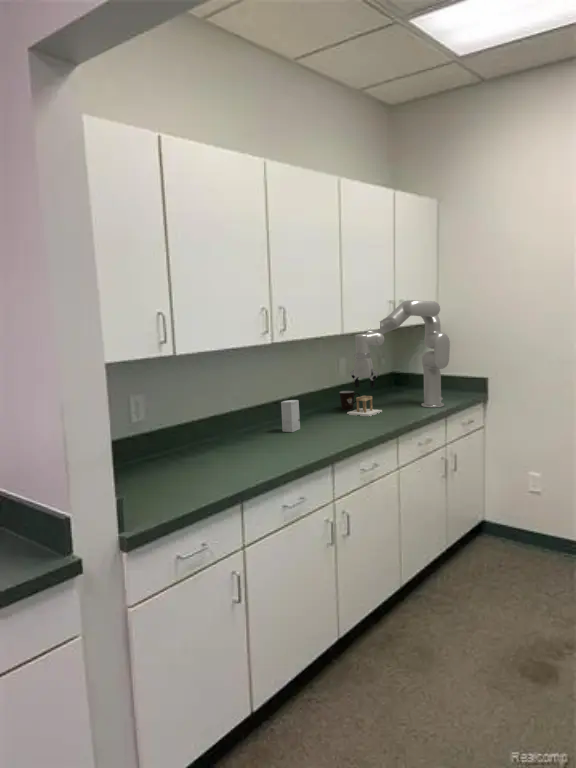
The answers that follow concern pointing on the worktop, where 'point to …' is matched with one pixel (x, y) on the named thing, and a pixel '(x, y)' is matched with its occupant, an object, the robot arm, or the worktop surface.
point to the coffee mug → (347, 399)
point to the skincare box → (290, 415)
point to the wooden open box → (364, 402)
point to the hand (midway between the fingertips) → (364, 387)
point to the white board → (361, 413)
